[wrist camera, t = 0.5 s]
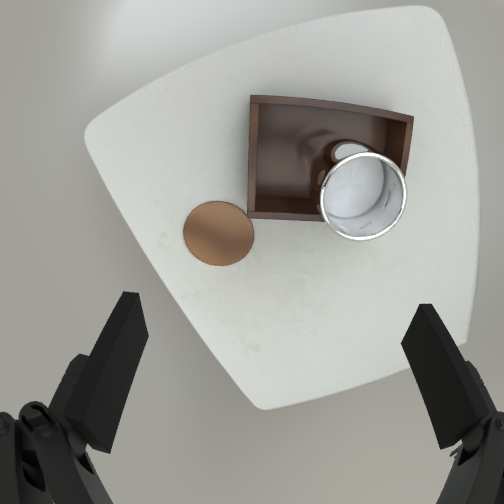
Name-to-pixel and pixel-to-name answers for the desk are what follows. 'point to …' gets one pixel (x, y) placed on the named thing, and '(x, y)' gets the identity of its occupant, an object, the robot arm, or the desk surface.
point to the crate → (287, 141)
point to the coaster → (218, 233)
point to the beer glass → (352, 184)
